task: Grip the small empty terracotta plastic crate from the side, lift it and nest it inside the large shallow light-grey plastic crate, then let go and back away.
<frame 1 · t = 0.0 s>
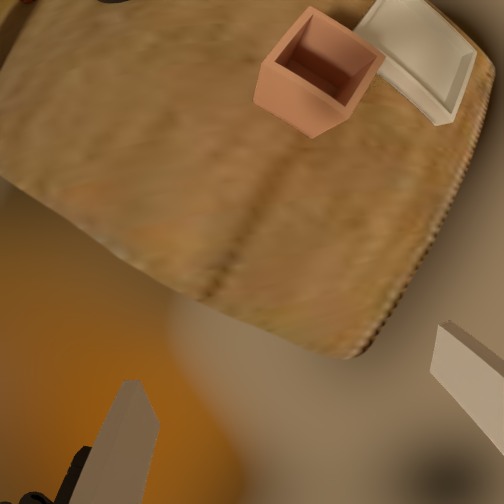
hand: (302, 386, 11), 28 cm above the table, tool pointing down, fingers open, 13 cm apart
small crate: (299, 94, 34), on the table
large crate: (411, 50, 32), on the table
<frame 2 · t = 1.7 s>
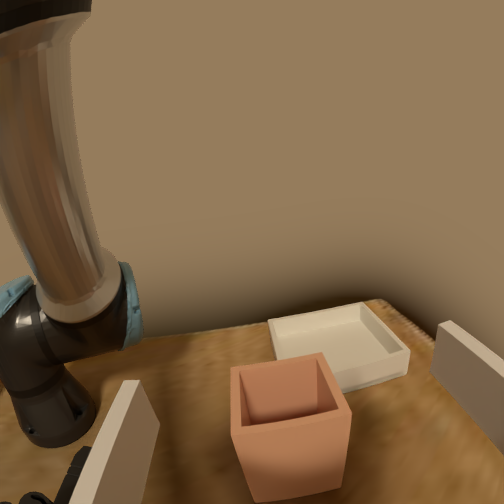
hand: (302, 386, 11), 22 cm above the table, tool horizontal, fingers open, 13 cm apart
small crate: (292, 466, 25), on the table
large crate: (332, 357, 45), on the table
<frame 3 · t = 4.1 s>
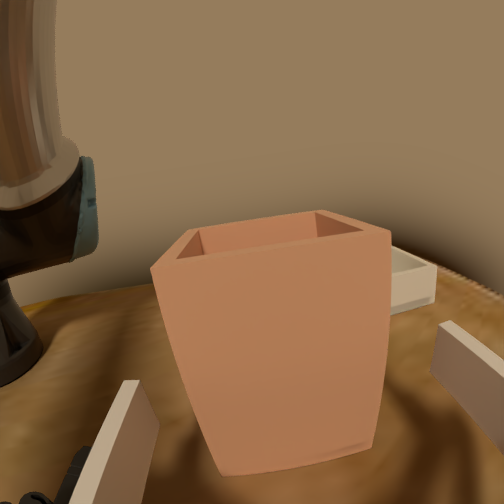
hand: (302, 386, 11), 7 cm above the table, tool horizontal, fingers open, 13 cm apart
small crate: (287, 418, 17), on the table
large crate: (336, 291, 37), on the table
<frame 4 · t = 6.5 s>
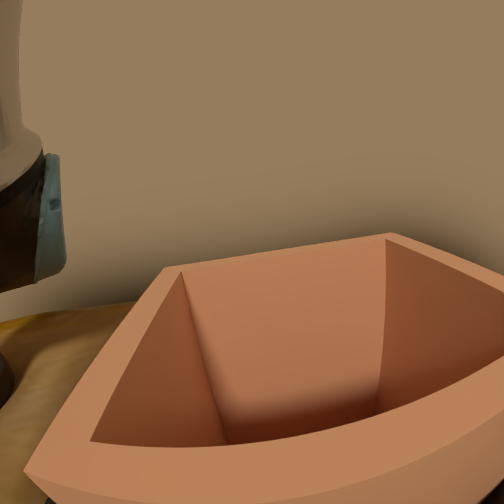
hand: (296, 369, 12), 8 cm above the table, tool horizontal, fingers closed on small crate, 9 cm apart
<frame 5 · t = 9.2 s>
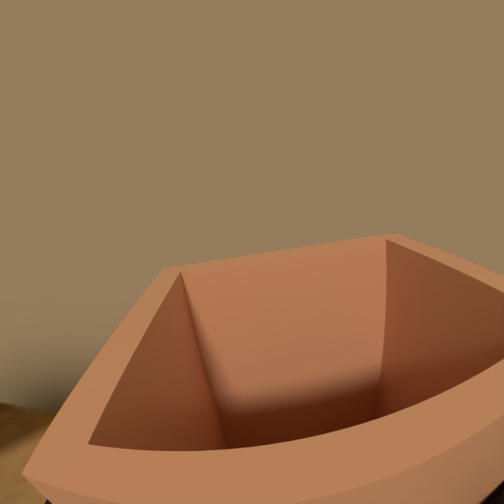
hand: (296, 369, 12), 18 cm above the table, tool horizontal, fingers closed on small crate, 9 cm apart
when the fingers open (10 cm above the table, at t = 11.9 s): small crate drops 2 cm, resting on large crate.
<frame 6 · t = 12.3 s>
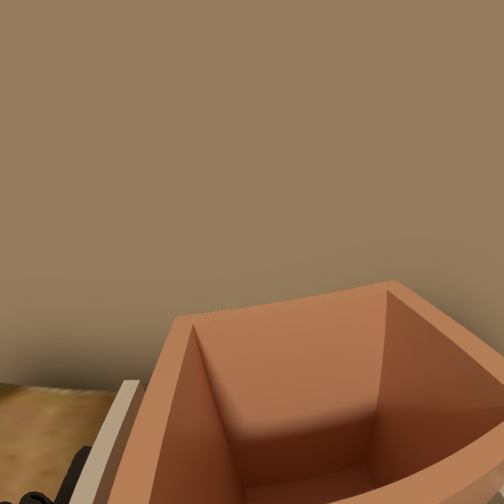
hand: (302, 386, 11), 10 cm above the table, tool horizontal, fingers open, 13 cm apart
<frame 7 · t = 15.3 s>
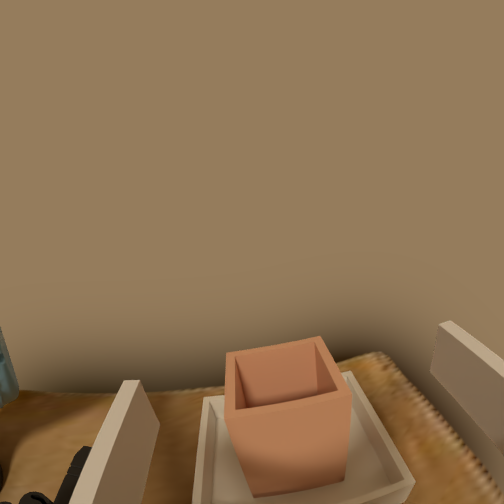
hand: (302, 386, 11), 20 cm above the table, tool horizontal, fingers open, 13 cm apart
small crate: (292, 460, 25), point 1 cm above the table, touching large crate
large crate: (293, 463, 25), on the table
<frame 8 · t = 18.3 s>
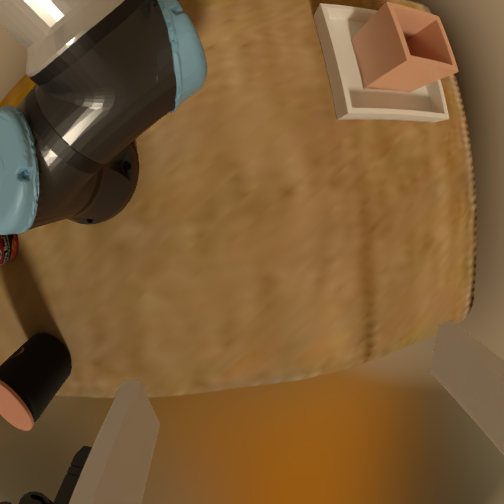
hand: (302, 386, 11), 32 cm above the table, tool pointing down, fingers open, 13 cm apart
canned food: (6, 240, 39), on the table
coffee jar: (53, 353, 45), on the table
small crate: (381, 65, 35), point 1 cm above the table, touching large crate
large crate: (378, 66, 36), on the table
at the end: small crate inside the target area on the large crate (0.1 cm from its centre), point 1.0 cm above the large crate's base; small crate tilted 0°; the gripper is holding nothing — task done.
